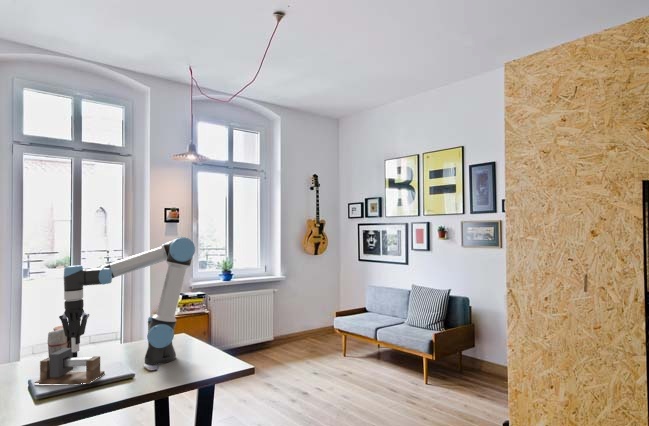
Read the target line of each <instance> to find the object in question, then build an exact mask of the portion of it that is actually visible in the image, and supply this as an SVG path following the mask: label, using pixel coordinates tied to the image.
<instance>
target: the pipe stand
mask: <svg viewBox="0 0 649 426" xmlns="http://www.w3.org/2000/svg"><path fill="white" fill-rule="evenodd" d="M91 357H92V358H90V359H88V360H86V366H85V370H86V371H69V372H67V373H65V374H64V375H62V376H60V377H50V367H49V360H50V357H49V356H48V357H47V358H44V359H42V360H40V361H39V379H38V380H36V381H34V383H39V384H81V383H82V384H83V383H86V384H89V383H90V382H91V381H93V380H95V379H96V378H98V377H100V376H101V377H103V376H104V375H105V370H103V371H102V370H101V356H100V355H95V356H94V355H93V356H91ZM93 357H94V358H93ZM103 374H104V375H103ZM102 375H103V376H102ZM101 377H100V378H101ZM98 379H99V378H98ZM96 380H97V379H96ZM96 380H95V381H96ZM93 382H94V381H93ZM90 384H91V383H90ZM90 384H89V385H90Z"/></svg>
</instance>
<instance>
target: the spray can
mask: <svg viewBox="0 0 649 426" xmlns="http://www.w3.org/2000/svg"><path fill="white" fill-rule="evenodd" d="M63 348H67V336H65V333H64V329H63V328H60V329H57V330H55V331H54V330H53V331H49V332H48V334H47V350H48V351H47V352H48V358H49V357H50V354H52V353H54V352H57V351H59V350H61V349H63Z"/></svg>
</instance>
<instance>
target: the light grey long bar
mask: <svg viewBox="0 0 649 426" xmlns="http://www.w3.org/2000/svg"><path fill="white" fill-rule="evenodd" d="M92 357H93V358H94V356H90V357H88V356H87V357H77V358H64V359H63V367H67V366H73V367H86V360H88V359H90V358H92ZM49 367H50V360H49Z"/></svg>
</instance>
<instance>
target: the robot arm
mask: <svg viewBox="0 0 649 426" xmlns="http://www.w3.org/2000/svg"><path fill="white" fill-rule="evenodd" d="M195 252H196V247H195V244H194V241H193V240H192V239H191V238H188V237H186V236H185V237H184V236H180V237H177V238H174V239H171V241H168V242H166V243H163V244H161V246H159V247H156V248H153V249H151V250H148V251H147V250H146V251H143V252H141V253H137V254H135V255H131V256H128V257H125V258H123V259H119V260H115V261H113V262H110V263H106V264H103V265H100V266H97V267H95V268H90V269H89V268H88V269H86V268H85V269H84V267H83V265H81V264H80V265H69V266H65V267H64V269H63V288H64V289H63V300H64V302H63V303H64V312H63V314H61V315H59V316H58V319H59V320H60V321H61V324H62V325H61V326H63V329H64V333H65V336H68V337H69V338H70V345H72V352H77V353H78V352H79V349H80V348H79V345H80V343H81V336H83V335H85V333H86V326H87V323H88V319H89V317H90V313H87V312H85V310H84V304H85V303H84V299H83V298H84V287H85V286H87V287H88V286H94V285H95V286H97V285H108V284H111V283H112V282H113V281H112V280H113V279H114V278H116V277H120V276H123V275H126V274H130V273H132V272H135V271H138V270H142V269H144V268H147V267H148V268H149V267H150V266H153V265H157V264H159V263H163V262H166V263H167V265H168V266H167V270H166V274H165V278H164V282H163V286H162V290H161V292H160V293H161V294H160V297H159V302H158V306H157V309H156V310H157V311H156V313H155V314H154V315H151V316H148V318H147V334H146V335H147V337H146V338H147V339H146V340H147V350H146V352H145V355H144V363H145V364H147V365H162V364H167V363H171V362H173V361H175V360H176V358H177V354H176V350H175V348H174V344H173V340H174V338H175V329H176V324H177V318H176V317H175V315H176V311H177V308H178V307H177V306H178V303H179V299H180V294H181V292H182V286H183V284H184V283H183V282H184V280H185V274H186V271H187V269H188V268H190V267H191V263H192V261H193V260H192V259H193V256H194V255H195Z"/></svg>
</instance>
